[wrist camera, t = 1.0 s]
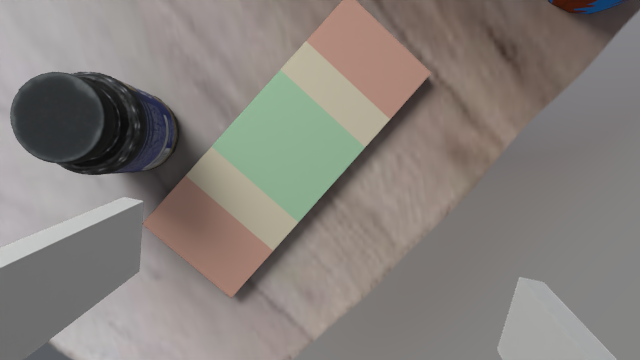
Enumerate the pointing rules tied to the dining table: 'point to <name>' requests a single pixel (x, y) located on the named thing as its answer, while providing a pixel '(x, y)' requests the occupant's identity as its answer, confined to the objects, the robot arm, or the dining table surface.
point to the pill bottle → (93, 123)
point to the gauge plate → (287, 147)
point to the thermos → (585, 5)
